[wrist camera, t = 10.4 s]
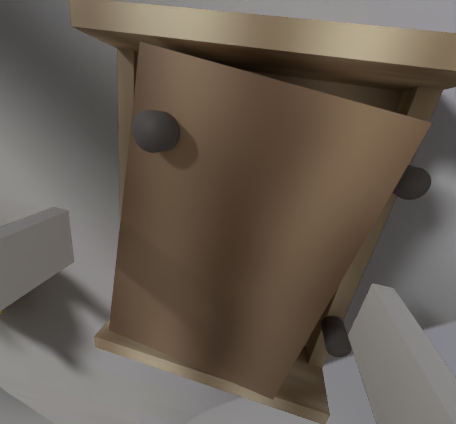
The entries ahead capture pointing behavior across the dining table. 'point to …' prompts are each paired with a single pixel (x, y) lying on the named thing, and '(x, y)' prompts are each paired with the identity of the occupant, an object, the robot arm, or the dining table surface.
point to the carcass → (298, 75)
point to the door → (244, 211)
